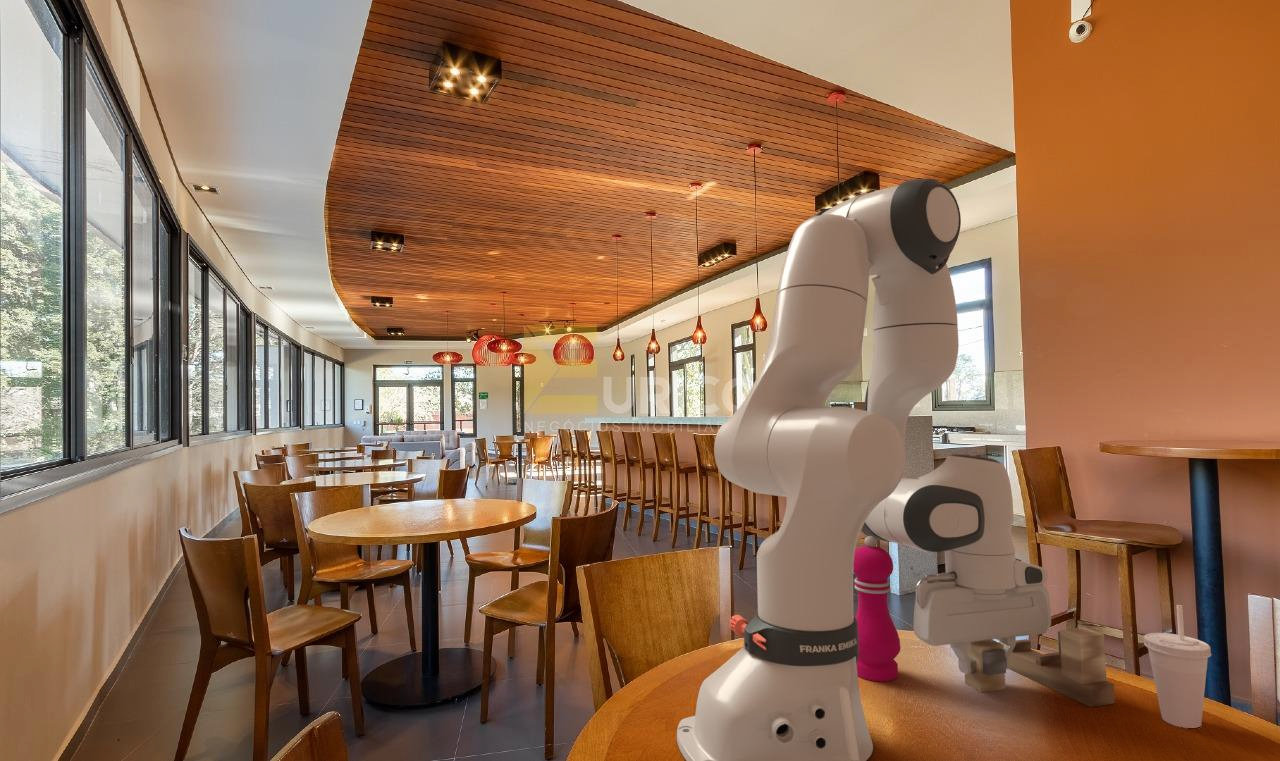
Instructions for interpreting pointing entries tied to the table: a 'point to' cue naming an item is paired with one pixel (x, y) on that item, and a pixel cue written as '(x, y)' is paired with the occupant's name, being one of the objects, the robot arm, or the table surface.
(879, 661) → the pepper mill
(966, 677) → the grey-banded wooden block
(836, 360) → the robot arm
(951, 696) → the table surface
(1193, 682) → the smoothie
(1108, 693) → the rail
